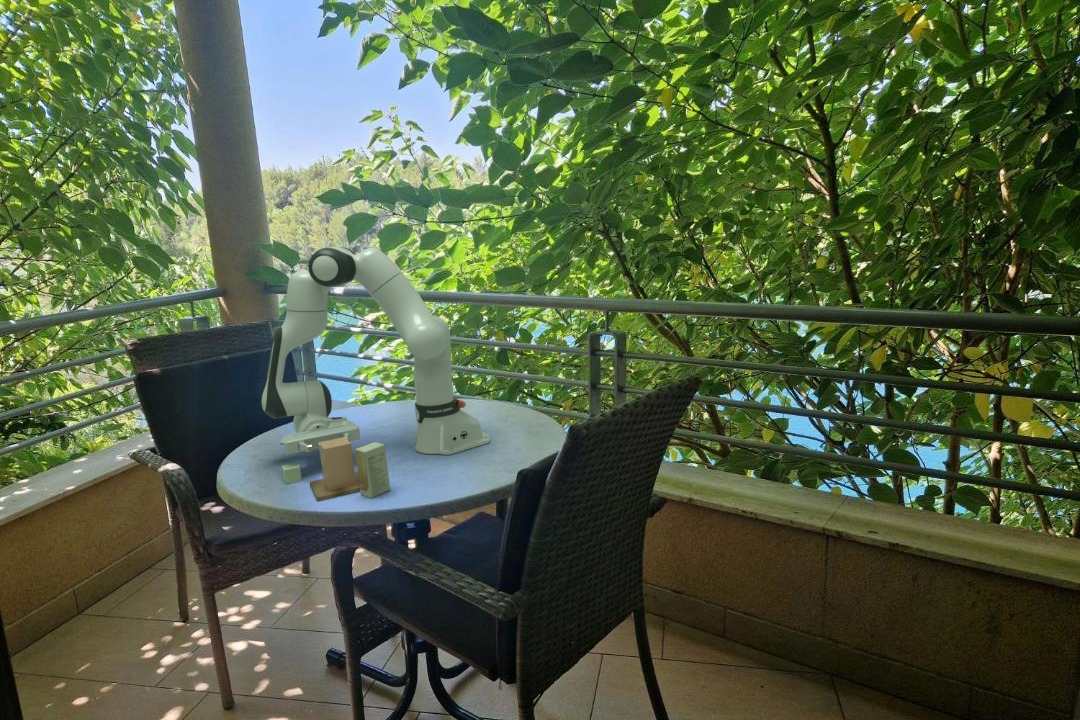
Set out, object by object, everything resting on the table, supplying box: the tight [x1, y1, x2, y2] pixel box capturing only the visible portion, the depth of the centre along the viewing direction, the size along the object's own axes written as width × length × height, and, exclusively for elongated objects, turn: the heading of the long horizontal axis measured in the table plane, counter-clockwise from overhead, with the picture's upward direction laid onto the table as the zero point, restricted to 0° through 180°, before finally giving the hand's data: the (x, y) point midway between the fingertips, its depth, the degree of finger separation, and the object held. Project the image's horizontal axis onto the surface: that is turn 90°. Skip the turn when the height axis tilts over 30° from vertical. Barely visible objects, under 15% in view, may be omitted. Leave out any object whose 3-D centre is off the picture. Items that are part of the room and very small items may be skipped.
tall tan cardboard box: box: [318, 437, 356, 491], centre depth 160 cm, size 7×7×11 cm
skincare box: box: [354, 441, 391, 499], centre depth 155 cm, size 6×4×12 cm
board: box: [309, 470, 361, 502], centre depth 161 cm, size 13×12×1 cm
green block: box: [281, 462, 302, 485], centre depth 167 cm, size 4×4×4 cm
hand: (327, 445), depth 166 cm, fingers open, 8 cm apart
